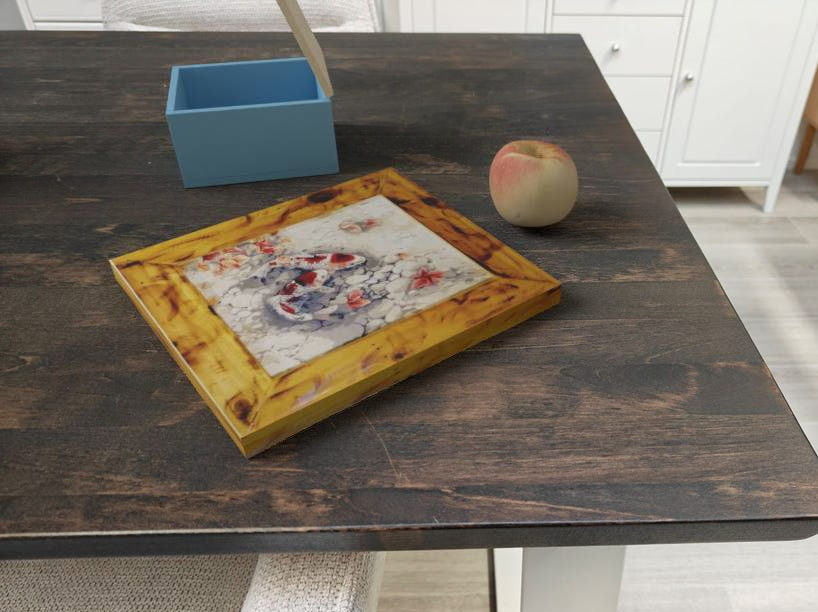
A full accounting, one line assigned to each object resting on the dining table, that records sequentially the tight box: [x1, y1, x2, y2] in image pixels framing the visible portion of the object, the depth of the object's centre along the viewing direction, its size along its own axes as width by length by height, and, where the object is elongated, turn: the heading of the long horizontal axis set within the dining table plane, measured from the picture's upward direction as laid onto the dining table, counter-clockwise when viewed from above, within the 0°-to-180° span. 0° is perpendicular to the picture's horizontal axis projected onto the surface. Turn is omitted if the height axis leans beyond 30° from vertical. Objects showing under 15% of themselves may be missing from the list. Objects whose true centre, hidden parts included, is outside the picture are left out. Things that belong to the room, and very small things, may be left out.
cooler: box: [165, 56, 340, 189], centre depth 84 cm, size 17×14×8 cm
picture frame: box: [108, 166, 563, 460], centre depth 66 cm, size 27×2×30 cm
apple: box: [488, 139, 579, 228], centre depth 74 cm, size 9×9×8 cm
